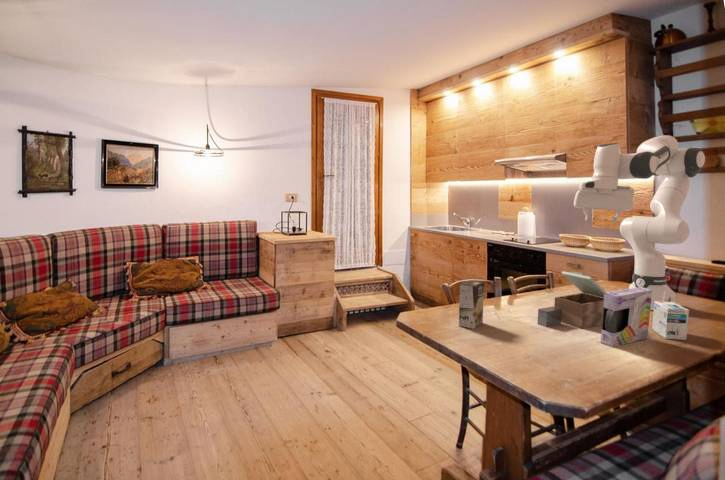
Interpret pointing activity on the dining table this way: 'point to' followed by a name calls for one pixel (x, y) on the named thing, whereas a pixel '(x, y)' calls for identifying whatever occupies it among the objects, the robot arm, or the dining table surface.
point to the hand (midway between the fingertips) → (601, 221)
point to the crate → (580, 309)
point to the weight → (549, 316)
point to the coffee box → (471, 304)
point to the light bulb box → (670, 320)
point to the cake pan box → (625, 316)
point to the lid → (585, 283)
